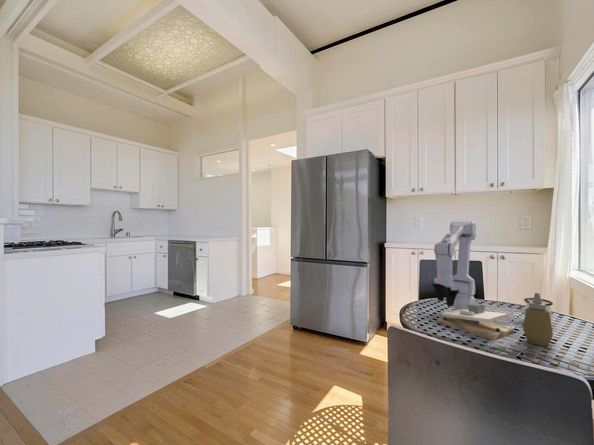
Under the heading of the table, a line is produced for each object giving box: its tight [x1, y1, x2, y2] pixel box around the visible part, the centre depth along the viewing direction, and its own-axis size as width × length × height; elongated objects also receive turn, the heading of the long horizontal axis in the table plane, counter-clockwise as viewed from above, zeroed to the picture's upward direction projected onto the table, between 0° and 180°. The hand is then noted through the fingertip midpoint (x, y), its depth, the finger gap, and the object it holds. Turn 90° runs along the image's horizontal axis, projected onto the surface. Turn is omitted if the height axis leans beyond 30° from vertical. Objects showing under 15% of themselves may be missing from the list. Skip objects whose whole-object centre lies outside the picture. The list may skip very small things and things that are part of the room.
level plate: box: [440, 303, 510, 323], centre depth 116 cm, size 13×20×4 cm, turn 26°
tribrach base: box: [437, 316, 514, 341], centre depth 116 cm, size 15×22×4 cm
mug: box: [523, 297, 554, 320], centre depth 120 cm, size 12×10×9 cm
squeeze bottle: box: [522, 292, 554, 347], centre depth 100 cm, size 8×8×18 cm
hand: (445, 303), depth 117 cm, fingers open, 7 cm apart
